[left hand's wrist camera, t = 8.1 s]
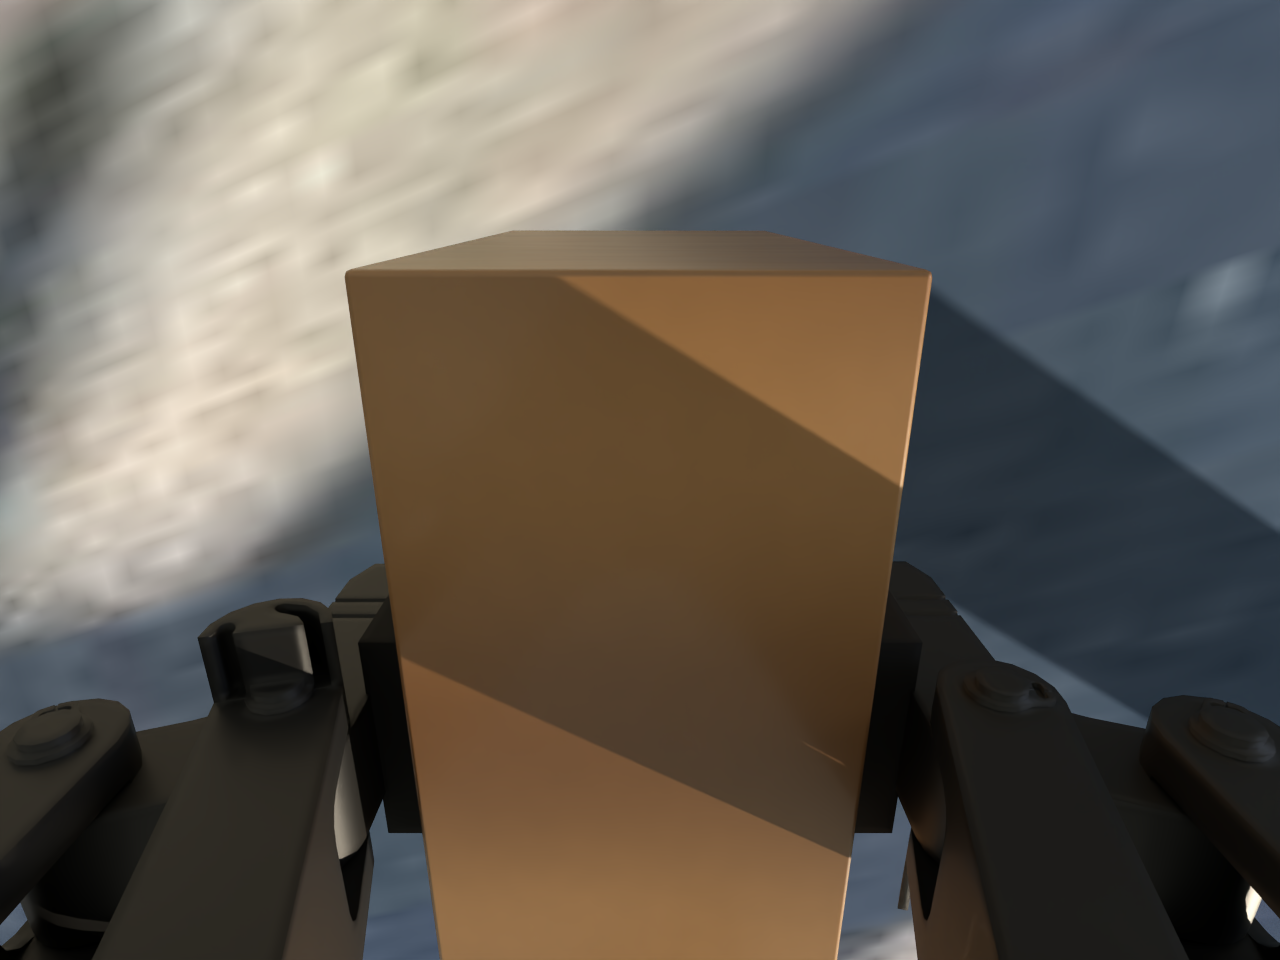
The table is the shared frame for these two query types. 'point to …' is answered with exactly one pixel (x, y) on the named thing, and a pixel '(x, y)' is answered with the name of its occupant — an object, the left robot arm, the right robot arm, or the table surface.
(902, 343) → the beam
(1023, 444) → the table surface
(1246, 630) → the table surface
